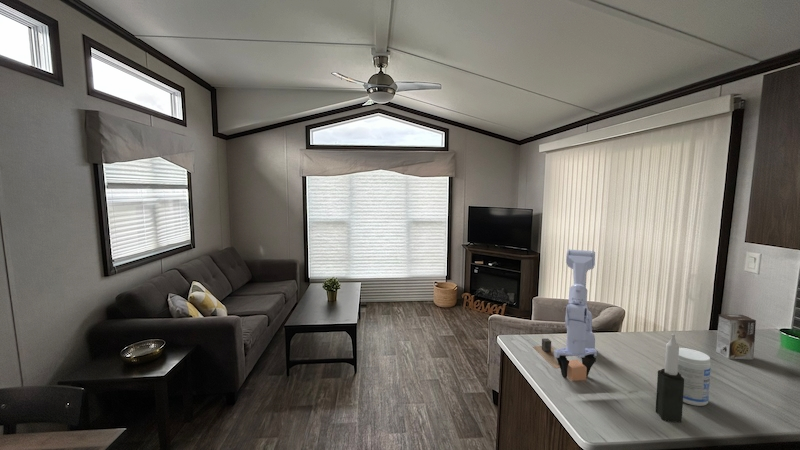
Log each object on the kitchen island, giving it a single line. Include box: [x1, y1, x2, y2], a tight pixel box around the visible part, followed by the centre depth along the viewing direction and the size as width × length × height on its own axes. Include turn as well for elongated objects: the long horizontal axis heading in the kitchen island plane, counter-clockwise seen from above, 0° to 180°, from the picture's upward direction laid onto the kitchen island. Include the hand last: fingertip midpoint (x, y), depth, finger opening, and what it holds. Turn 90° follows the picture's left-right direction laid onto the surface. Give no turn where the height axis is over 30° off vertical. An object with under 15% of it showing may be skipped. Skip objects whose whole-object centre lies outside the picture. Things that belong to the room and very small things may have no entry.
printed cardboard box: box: [715, 313, 757, 360], centre depth 136 cm, size 9×6×16 cm
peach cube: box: [567, 359, 587, 382], centre depth 119 cm, size 5×5×6 cm
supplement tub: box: [678, 347, 712, 407], centre depth 108 cm, size 10×10×15 cm
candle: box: [655, 333, 684, 423], centre depth 99 cm, size 5×5×25 cm
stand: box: [532, 338, 560, 369], centre depth 134 cm, size 8×18×6 cm, turn 4°
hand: (574, 375), depth 119 cm, fingers open, 7 cm apart
